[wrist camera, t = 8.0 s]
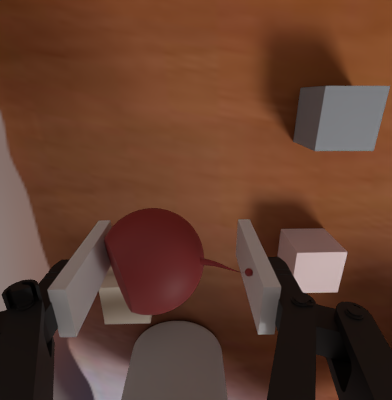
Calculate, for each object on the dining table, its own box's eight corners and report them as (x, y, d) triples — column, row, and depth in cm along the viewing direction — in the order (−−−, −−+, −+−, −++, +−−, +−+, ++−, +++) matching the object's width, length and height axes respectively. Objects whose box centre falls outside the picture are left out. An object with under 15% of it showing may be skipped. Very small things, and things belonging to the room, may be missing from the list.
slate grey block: (341, 141, 26) (373, 150, 22) (292, 141, 26) (314, 150, 22) (352, 87, 25) (390, 86, 20) (300, 87, 25) (325, 85, 20)
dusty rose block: (316, 263, 32) (337, 292, 27) (276, 264, 32) (290, 293, 27) (323, 227, 30) (347, 252, 26) (280, 228, 30) (297, 252, 26)
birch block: (156, 291, 33) (150, 323, 29) (116, 292, 33) (104, 324, 29) (153, 258, 31) (147, 287, 27) (112, 259, 31) (98, 287, 27)
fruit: (187, 256, 21) (258, 320, 14) (117, 289, 18) (163, 384, 12) (174, 184, 18) (250, 219, 12) (92, 210, 16) (130, 272, 9)
